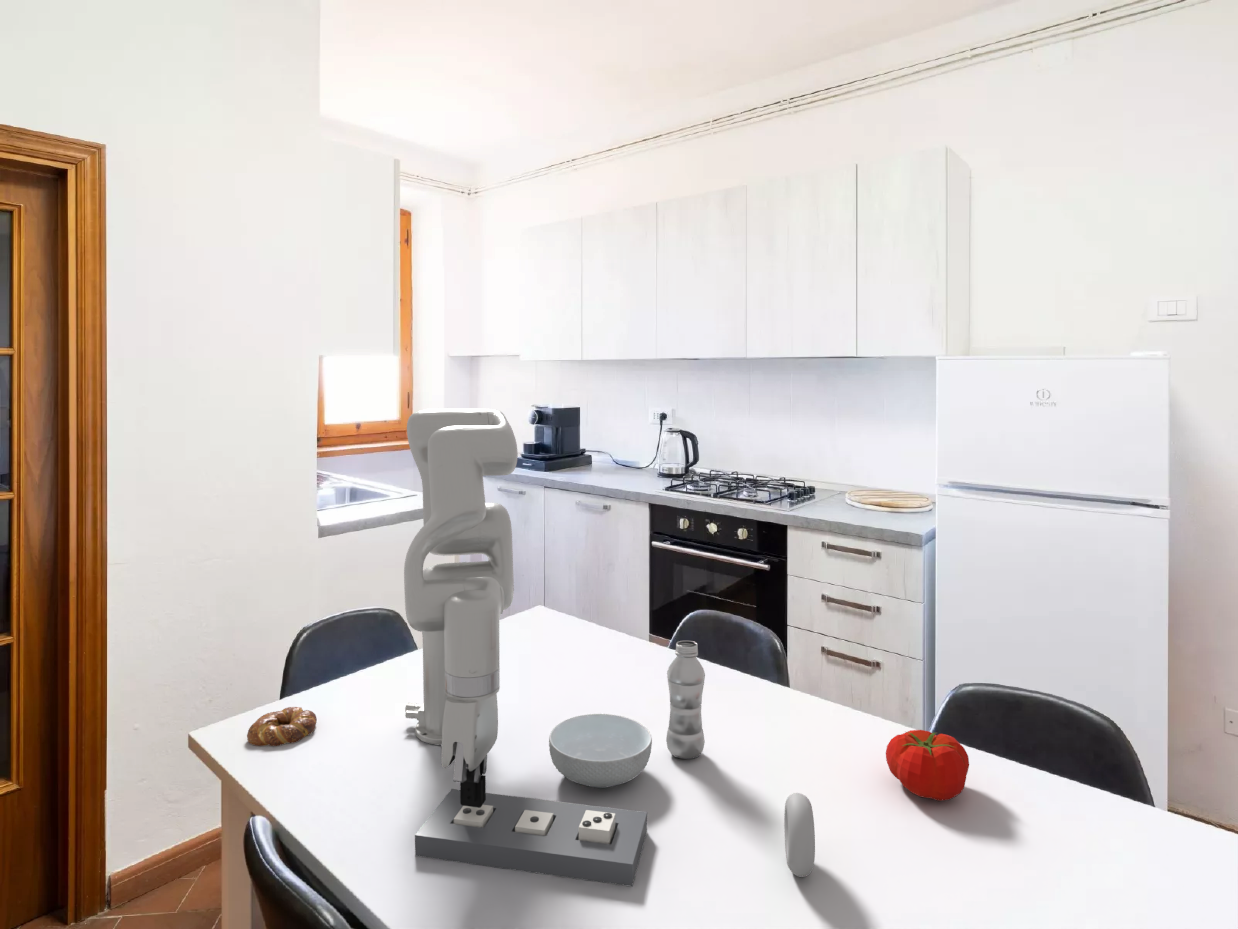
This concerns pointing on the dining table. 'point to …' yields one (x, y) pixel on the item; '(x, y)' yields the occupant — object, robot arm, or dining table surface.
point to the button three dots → (597, 827)
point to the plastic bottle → (685, 702)
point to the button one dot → (534, 822)
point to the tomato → (928, 763)
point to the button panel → (535, 840)
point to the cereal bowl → (600, 749)
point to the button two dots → (474, 816)
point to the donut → (799, 834)
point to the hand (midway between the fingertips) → (473, 803)
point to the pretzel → (282, 727)
